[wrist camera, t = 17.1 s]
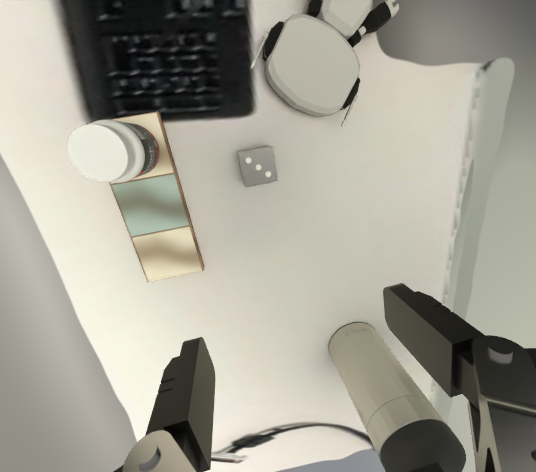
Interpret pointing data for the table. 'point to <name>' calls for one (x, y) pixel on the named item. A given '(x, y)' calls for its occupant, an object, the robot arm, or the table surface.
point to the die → (257, 165)
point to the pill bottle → (112, 151)
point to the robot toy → (321, 54)
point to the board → (158, 212)
